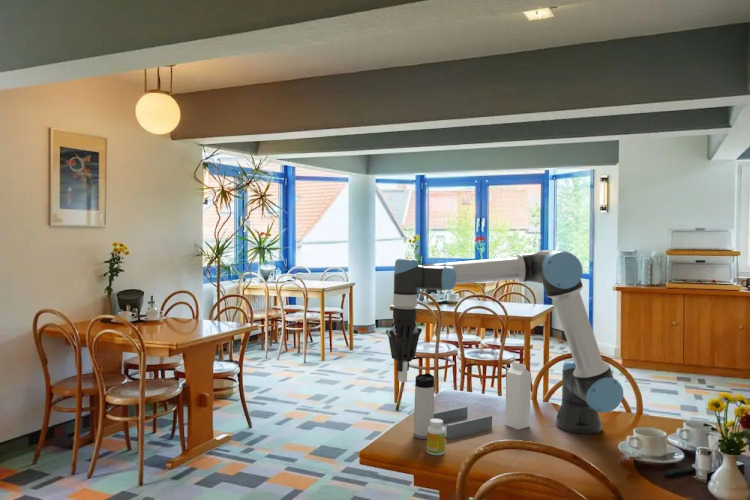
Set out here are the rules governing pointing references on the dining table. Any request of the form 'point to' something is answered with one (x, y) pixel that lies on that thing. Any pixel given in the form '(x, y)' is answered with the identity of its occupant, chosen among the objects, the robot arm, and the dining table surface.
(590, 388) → the robot arm
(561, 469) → the dining table surface
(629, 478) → the dining table surface
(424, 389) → the travel mug
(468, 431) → the cradle
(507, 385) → the milk
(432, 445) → the supplement bottle
